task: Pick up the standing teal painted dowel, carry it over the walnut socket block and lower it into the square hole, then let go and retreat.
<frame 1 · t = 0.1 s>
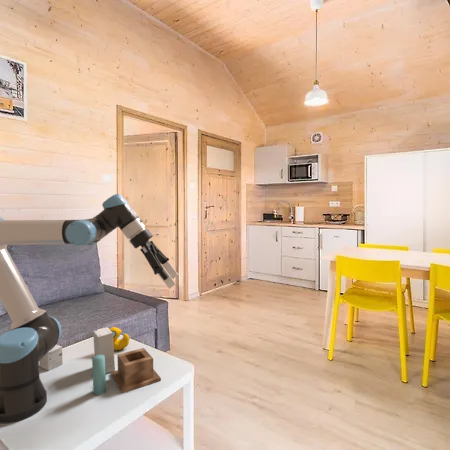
hand: (174, 281, 117), 36 cm above the table, tool tilted 35°, fingers open, 13 cm apart
peg: (99, 391, 111), on the table
skincare box: (51, 366, 129), on the table
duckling: (116, 350, 142), on the table
socket: (135, 377, 120), on the table
skincare box 2: (104, 369, 126), on the table
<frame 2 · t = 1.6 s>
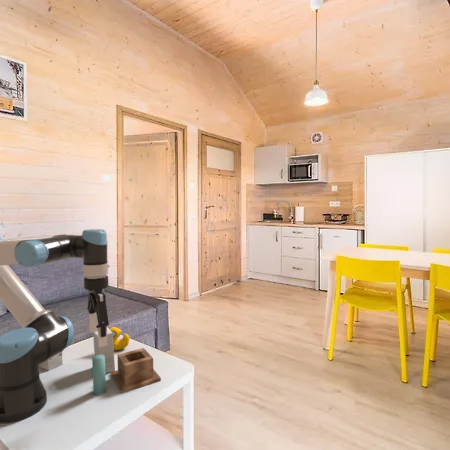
hand: (98, 338, 110), 19 cm above the table, tool pointing down, fingers open, 13 cm apart
nothing on the table moved.
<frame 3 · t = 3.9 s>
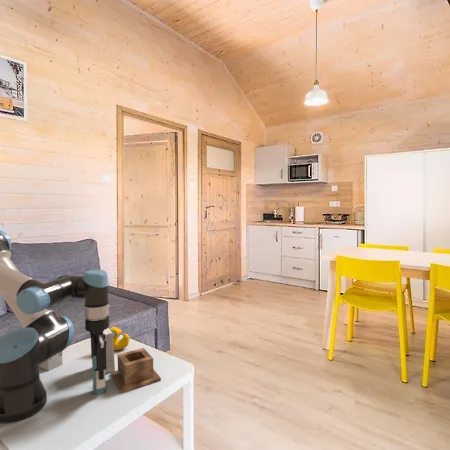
hand: (99, 384, 111), 3 cm above the table, tool pointing down, fingers closed on peg, 4 cm apart
peg: (99, 391, 111), on the table, touching gripper
everything else where it was.
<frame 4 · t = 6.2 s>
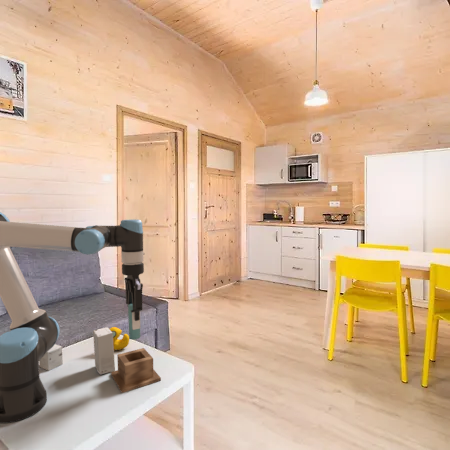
hand: (134, 326, 118), 19 cm above the table, tool pointing down, fingers closed on peg, 4 cm apart
peg: (134, 337, 119), point 15 cm above the table, touching gripper
everything else where it was.
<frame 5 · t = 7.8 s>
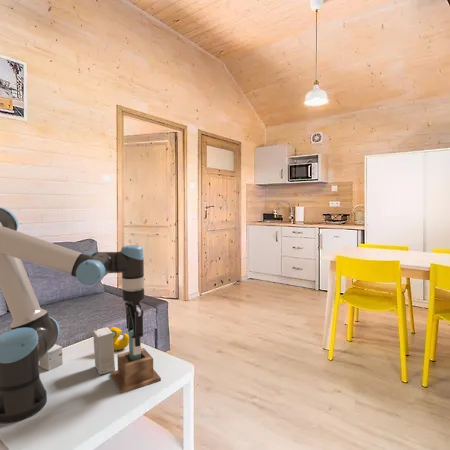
hand: (135, 351, 119), 10 cm above the table, tool pointing down, fingers closed on peg, 4 cm apart
peg: (135, 363, 119), point 5 cm above the table, touching gripper
everything else where it was.
when the fingers open (10 cm above the table, at t = 8.8 s): peg drops 5 cm, resting on socket.
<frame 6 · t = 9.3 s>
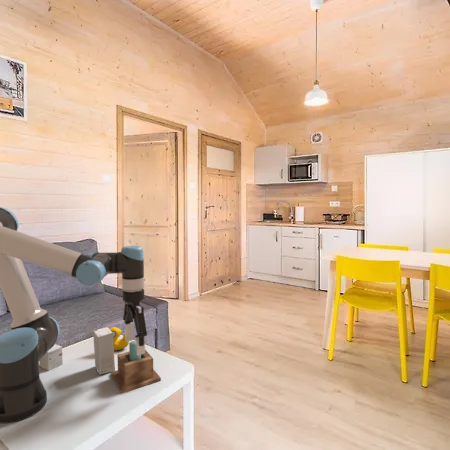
hand: (134, 347, 119), 12 cm above the table, tool pointing down, fingers open, 12 cm apart
peg: (135, 375, 119), point 1 cm above the table, touching socket
everything else where it was.
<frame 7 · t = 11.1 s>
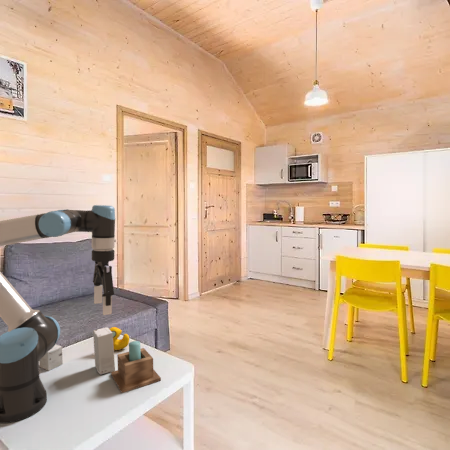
hand: (102, 308, 116), 26 cm above the table, tool pointing down, fingers open, 13 cm apart
nothing on the table moved.
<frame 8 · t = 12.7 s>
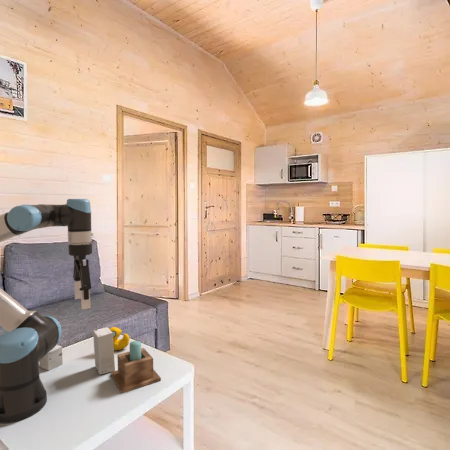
hand: (82, 303, 115), 29 cm above the table, tool pointing down, fingers open, 13 cm apart
nothing on the table moved.
at the end: peg 0.3 cm off-centre on the socket, point 1.0 cm above the socket's base; peg tilted 1°; the gripper is holding nothing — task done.
